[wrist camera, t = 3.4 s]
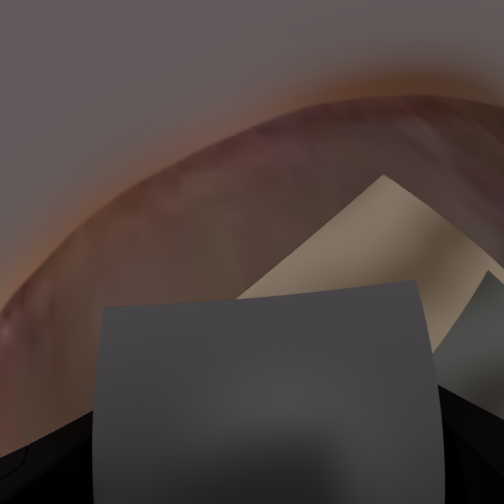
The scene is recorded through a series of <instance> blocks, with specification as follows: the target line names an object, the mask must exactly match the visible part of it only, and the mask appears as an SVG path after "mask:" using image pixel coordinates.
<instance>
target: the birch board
mask: <svg viewBox="0 0 504 504" xmlns="http://www.w3.org/2000/svg"><path fill="white" fill-rule="evenodd" d="M412 279H416V282H417V286H418V290H419V294H420V298H421V302H422V306H423V310H424V315H425V319H426V324H427V328H428V333H429V338H430V343H431V348H432V354H433V359H434V365H435V371H436V378H437V384H438V385H440V386H442V387H444V388H446V389H447V390H449V391H451V392H453V393H455V394H457V395H458V396H460V397H462V398H464V399H466V400H468V401H470V402H472V403H473V404H475V405H477V406H479V407H481V408H483V409H485V410H487V411H488V412H490V413H492V414H494V415H496V416H498V417H500V418H502V419H504V269H503V268H502V267H501V266H500V265H499V264H498V263H497V262H495V261H494V260H493V259H492V258H491V257H490V256H489V255H488V254H487V253H485V252H484V251H483V250H482V249H481V248H480V247H479V246H477V245H476V244H475V243H474V242H473V241H471V240H470V239H469V238H468V237H467V236H466V235H464V234H463V233H462V232H461V231H459V230H458V229H457V228H456V227H454V226H453V225H452V224H451V223H449V222H448V221H447V220H446V219H444V218H443V217H442V216H440V215H439V214H438V213H437V212H435V211H434V210H433V209H431V208H430V207H429V206H427V205H426V204H425V203H423V202H422V201H421V200H419V199H418V198H416V197H415V196H414V195H412V194H411V193H409V192H408V191H407V190H405V189H404V188H402V187H401V186H399V185H398V184H397V183H395V182H394V181H392V180H391V179H389V178H388V177H386V176H385V175H382V176H381V177H380V178H379V179H378V180H376V181H375V182H374V183H373V184H372V185H371V186H370V187H368V188H367V189H366V190H365V191H364V192H363V193H362V194H360V195H359V196H358V197H357V198H356V199H355V200H353V201H352V202H351V203H350V204H349V205H348V206H347V207H345V208H344V209H343V210H342V211H341V212H340V213H338V214H337V215H336V216H335V217H334V218H333V219H331V220H330V221H329V222H328V223H327V224H326V225H324V226H323V227H322V228H321V229H320V230H319V231H317V232H316V233H315V234H314V235H313V236H311V237H310V238H309V239H308V240H307V241H306V242H304V243H303V244H302V245H301V246H300V247H298V248H297V249H296V250H295V251H294V252H292V253H291V254H290V255H289V256H288V257H287V258H285V259H284V260H283V261H282V262H281V263H279V264H278V265H277V266H276V267H275V268H273V269H272V270H271V271H270V272H269V273H267V274H266V275H265V276H264V277H262V278H261V279H260V280H259V281H258V282H256V283H255V284H254V285H253V286H252V287H250V288H249V289H248V290H247V291H245V292H244V293H243V294H242V295H241V296H239V297H238V298H237V299H246V298H258V297H269V296H279V295H289V294H299V293H309V292H318V291H327V290H336V289H344V288H352V287H360V286H368V285H376V284H384V283H391V282H398V281H405V280H412Z"/></svg>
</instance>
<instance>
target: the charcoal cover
mask: <svg viewBox="0 0 504 504" xmlns="http://www.w3.org/2000/svg"><path fill="white" fill-rule="evenodd" d="M92 472H93V496H94V504H445V462H444V442H443V429H442V418H441V408H440V400H439V392H438V385H437V378H436V371H435V365H434V359H433V354H432V348H431V343H430V338H429V333H428V328H427V324H426V319H425V315H424V310H423V306H422V302H421V298H420V294H419V290H418V286H417V282H416V279H412V280H405V281H398V282H391V283H384V284H376V285H368V286H360V287H352V288H344V289H336V290H327V291H318V292H309V293H299V294H289V295H279V296H269V297H258V298H246V299H234V300H222V301H209V302H194V303H179V304H162V305H144V306H122V307H104V313H103V319H102V326H101V334H100V341H99V349H98V358H97V368H96V379H95V392H94V407H93V433H92Z"/></svg>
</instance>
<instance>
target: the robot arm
mask: <svg viewBox="0 0 504 504" xmlns="http://www.w3.org/2000/svg"><path fill="white" fill-rule="evenodd" d="M437 385H438V384H437ZM438 392H439V400H440V408H441V418H442V429H443V442H444V462H445V504H504V419H502V418H500V417H498V416H496V415H494V414H492V413H490V412H488V411H487V410H485V409H483V408H481V407H479V406H477V405H475V404H473V403H472V402H470V401H468V400H466V399H464V398H462V397H460V396H458V395H457V394H455V393H453V392H451V391H449V390H447V389H446V388H444V387H442V386H440V385H438ZM92 433H93V411H91V412H89V413H87V414H86V415H84V416H82V417H80V418H78V419H76V420H75V421H73V422H71V423H69V424H67V425H65V426H63V427H62V428H60V429H58V430H56V431H54V432H52V433H50V434H48V435H46V436H44V437H42V438H40V439H39V440H37V441H35V442H33V443H31V444H29V446H28V445H26V446H24V447H23V448H21V449H19V450H16V451H14V452H12V453H10V454H8V455H6V456H3V457H1V458H0V504H94V496H93V472H92Z"/></svg>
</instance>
